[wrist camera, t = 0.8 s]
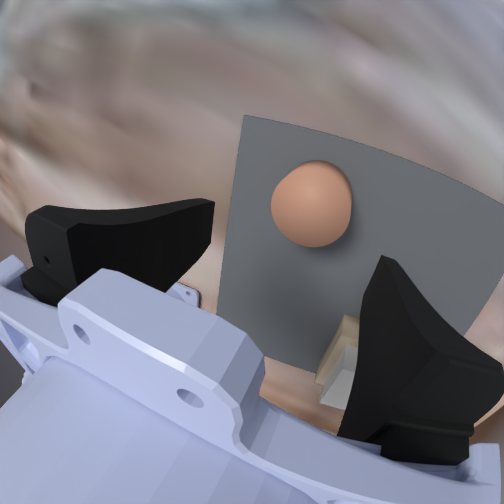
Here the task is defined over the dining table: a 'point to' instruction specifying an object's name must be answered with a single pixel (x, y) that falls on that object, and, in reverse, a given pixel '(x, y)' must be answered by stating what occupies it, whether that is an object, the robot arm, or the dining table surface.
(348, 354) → the tower top
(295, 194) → the tan rounded lump
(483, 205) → the mat
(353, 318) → the tower base
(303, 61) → the dining table surface
